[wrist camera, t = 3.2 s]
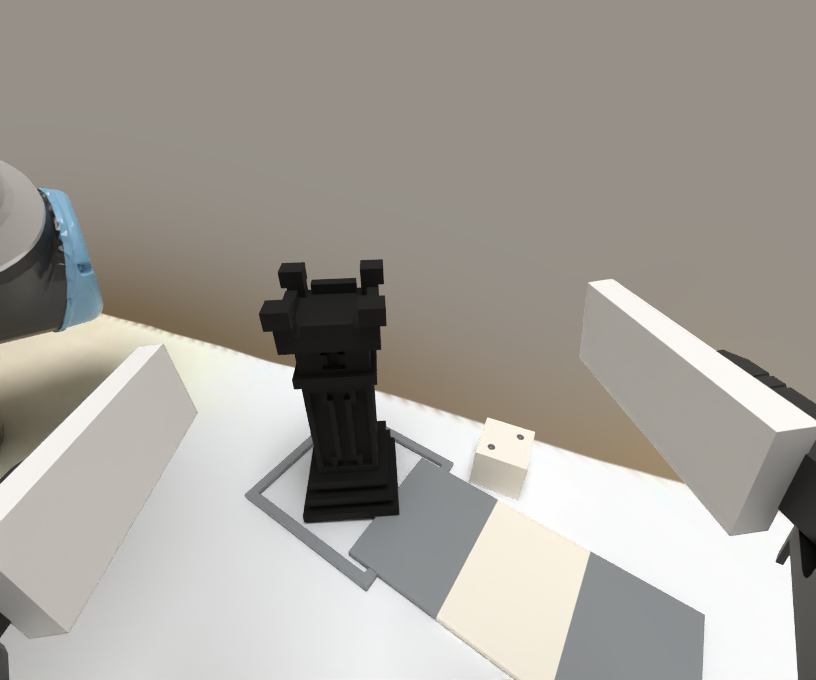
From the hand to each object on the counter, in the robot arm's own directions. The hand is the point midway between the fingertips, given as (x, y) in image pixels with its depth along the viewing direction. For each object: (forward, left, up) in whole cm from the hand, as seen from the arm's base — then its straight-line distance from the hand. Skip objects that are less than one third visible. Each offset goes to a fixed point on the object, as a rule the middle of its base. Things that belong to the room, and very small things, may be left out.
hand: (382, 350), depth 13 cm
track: (+6, +9, -25) cm, 27 cm away
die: (+1, +17, -25) cm, 30 cm away
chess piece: (-10, +9, -25) cm, 28 cm away
